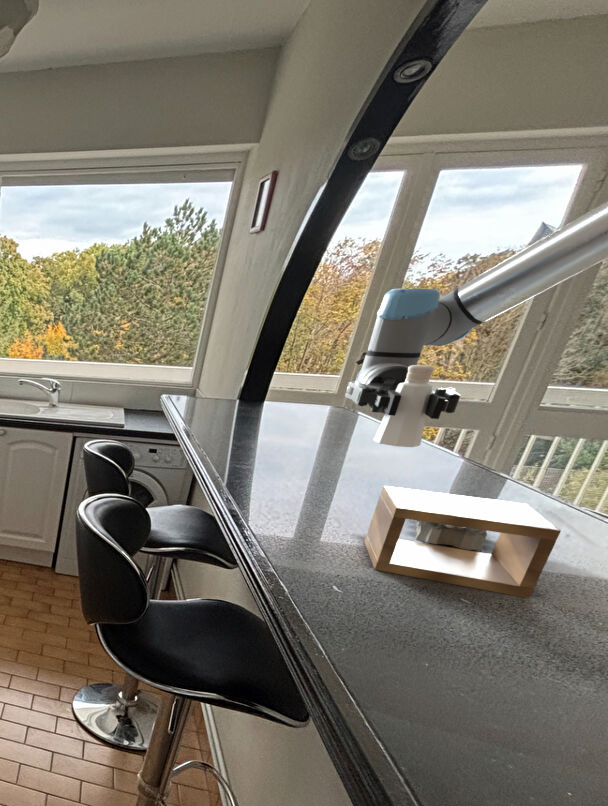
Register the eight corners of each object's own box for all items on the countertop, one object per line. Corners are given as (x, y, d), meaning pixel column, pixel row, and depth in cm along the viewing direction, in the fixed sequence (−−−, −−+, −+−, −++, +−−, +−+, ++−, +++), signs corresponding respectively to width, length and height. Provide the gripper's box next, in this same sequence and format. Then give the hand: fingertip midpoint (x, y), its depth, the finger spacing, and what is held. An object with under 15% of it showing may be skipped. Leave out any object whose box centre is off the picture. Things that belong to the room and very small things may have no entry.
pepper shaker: (363, 439, 89) (387, 363, 85) (396, 439, 89) (421, 363, 85) (395, 447, 84) (422, 367, 80) (430, 447, 84) (458, 367, 80)
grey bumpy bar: (415, 522, 90) (424, 496, 88) (482, 534, 85) (493, 508, 83) (409, 540, 83) (419, 512, 81) (482, 555, 78) (494, 526, 76)
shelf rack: (500, 564, 75) (527, 503, 72) (529, 598, 66) (561, 530, 63) (364, 542, 82) (383, 485, 79) (374, 570, 73) (396, 507, 70)
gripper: (449, 416, 96) (489, 441, 77) (323, 406, 104) (332, 427, 86) (467, 368, 93) (512, 383, 74) (336, 362, 101) (348, 374, 83)
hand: (416, 407), depth 80 cm, fingers closed on pepper shaker, 4 cm apart
